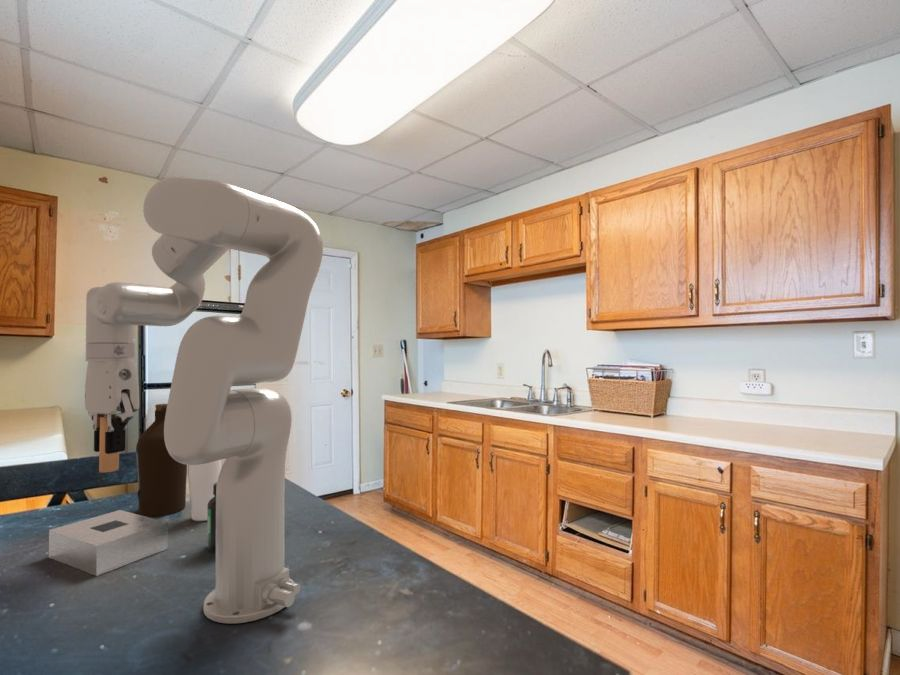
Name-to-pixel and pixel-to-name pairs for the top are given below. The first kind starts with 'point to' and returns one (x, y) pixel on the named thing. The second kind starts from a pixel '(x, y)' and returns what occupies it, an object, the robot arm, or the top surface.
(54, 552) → the hole block
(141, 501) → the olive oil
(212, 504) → the supplement bottle
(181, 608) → the top surface
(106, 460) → the peg
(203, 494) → the drinking glass
